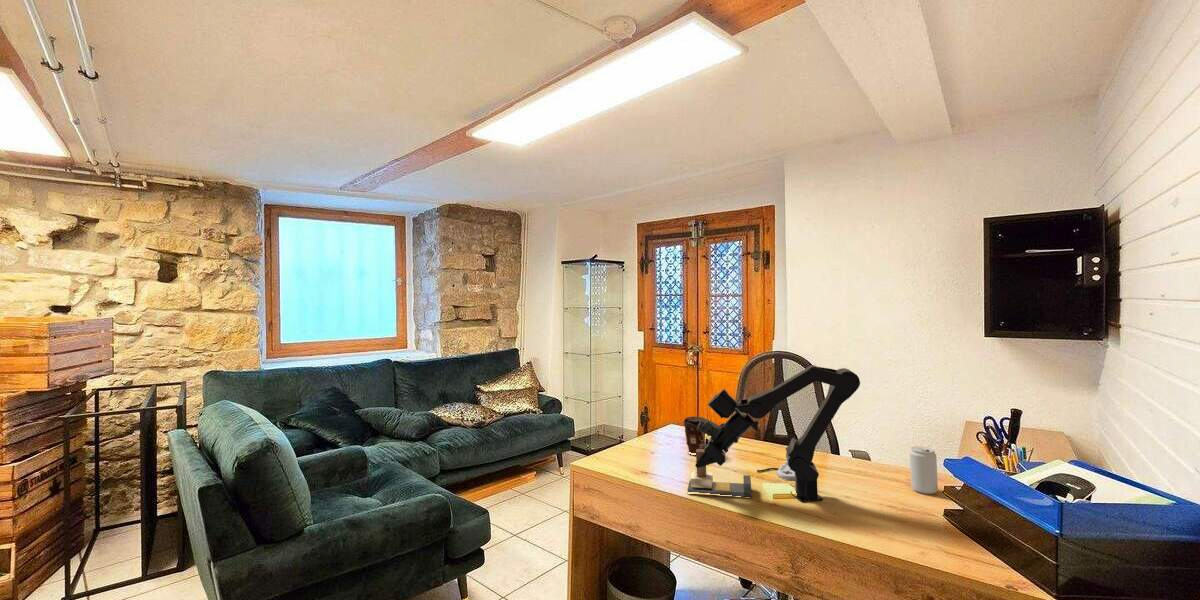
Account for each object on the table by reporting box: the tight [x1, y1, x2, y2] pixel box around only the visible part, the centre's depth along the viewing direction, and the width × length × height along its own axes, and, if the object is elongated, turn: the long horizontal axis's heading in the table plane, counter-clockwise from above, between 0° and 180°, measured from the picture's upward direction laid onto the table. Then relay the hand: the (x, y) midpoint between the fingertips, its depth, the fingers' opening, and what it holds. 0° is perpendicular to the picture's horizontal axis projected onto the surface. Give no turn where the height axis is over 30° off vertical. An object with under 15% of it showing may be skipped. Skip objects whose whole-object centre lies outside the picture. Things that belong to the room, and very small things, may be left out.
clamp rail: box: [687, 474, 753, 499], centre depth 147 cm, size 18×7×4 cm, turn 75°
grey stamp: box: [690, 449, 714, 488], centre depth 148 cm, size 6×6×10 cm
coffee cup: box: [683, 415, 706, 453], centre depth 183 cm, size 9×8×13 cm
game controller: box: [756, 461, 795, 481], centre depth 162 cm, size 15×13×2 cm
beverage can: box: [909, 446, 939, 495], centre depth 142 cm, size 6×6×12 cm
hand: (696, 465), depth 149 cm, fingers closed on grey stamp, 3 cm apart
